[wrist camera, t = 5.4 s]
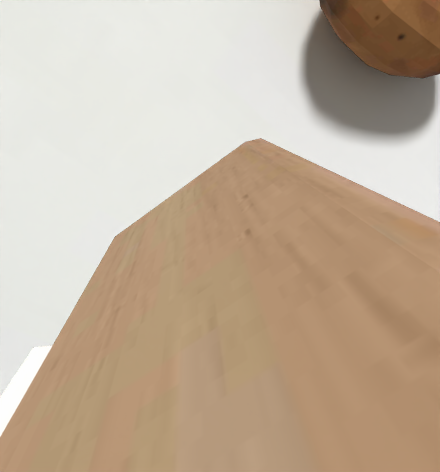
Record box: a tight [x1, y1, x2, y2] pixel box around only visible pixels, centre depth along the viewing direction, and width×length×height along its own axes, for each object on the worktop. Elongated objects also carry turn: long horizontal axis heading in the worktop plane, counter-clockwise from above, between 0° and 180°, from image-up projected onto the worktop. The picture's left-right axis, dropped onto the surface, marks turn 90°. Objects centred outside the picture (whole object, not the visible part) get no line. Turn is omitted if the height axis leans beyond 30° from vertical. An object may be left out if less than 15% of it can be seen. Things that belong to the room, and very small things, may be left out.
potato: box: [320, 0, 440, 78], centre depth 27 cm, size 8×13×8 cm
